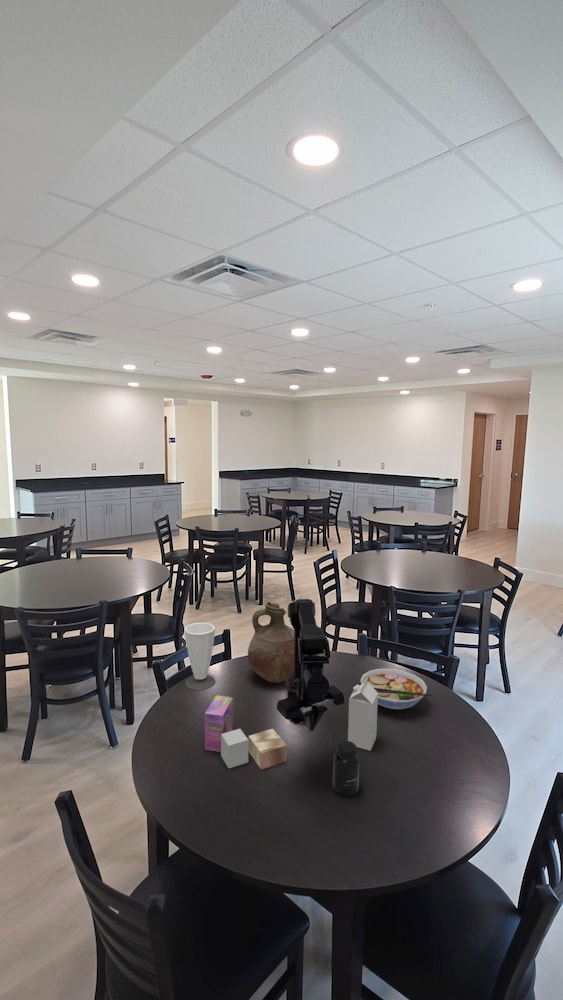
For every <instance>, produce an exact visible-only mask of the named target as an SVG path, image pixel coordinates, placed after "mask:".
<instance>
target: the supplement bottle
mask: <svg viewBox="0 0 563 1000" xmlns="http://www.w3.org/2000/svg"><path fill="white" fill-rule="evenodd" d="M332 762H333V764H332V765H333V766H332V789H333V790H334V791H335V793H337V794H338V795H340V796H342V797H351V796H354V795H355V794H356V793H357V792H358V791H359V780H360V779H359V778H360V777H359V776H360V757H359V756H358V754H357V747H356V745H355V744H354V743H352V742H351V741H348V740H342V741H340V742H338V744H337V751H336V752H335V753H334V756H333V761H332Z"/></svg>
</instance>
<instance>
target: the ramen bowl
mask: <svg viewBox="0 0 563 1000" xmlns="http://www.w3.org/2000/svg"><path fill="white" fill-rule="evenodd" d="M367 678H368V679H367ZM366 679H367V682H368V683H369V684H370V685H371V686H372V687H373V688H374V689H375V690H376V691H377V692H378V705H379V706H381V707H384V708H387V709H392V710H405V709H408V708H412V707H414V705H416V704H417V703H419V702H420V701H421V700H422V699H423V698H424V697H431V694H429V693H427V688H428V686H427V685H426V683H425V681H424V680H423V679H421V678H420V677H419V676H417V675H415V674H414V673H411V672H408V671H406V670H401V669H397V668H375V669H371V670H368V671H366V673H364V674H362V676H361V678H360V680H359V681H360V683H361V685H362V684H363V683H364V682H365V680H366Z"/></svg>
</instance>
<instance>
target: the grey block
mask: <svg viewBox="0 0 563 1000" xmlns="http://www.w3.org/2000/svg"><path fill="white" fill-rule="evenodd" d="M220 756H221V758H222V760H223V762H224V763H225V765H226V767H227V768H228V769H231V768H236V767H238V766H242V765H244V764H248V763H249V751H248V737H247V736H246V734H245V733H244V731H243V730H242V729H241V728H238V729H233V731H230V732H226V733H223V734H221V752H220Z"/></svg>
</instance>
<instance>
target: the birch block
mask: <svg viewBox="0 0 563 1000" xmlns="http://www.w3.org/2000/svg"><path fill="white" fill-rule="evenodd" d="M247 738H248V754H250V755H251V757H252V758H253V760H254V761H255V763H256V765H257V766H258V767H259V769H260V770H265V769H267V768H271V767H274V766H276V765H280V764H283V763H286V762H287V755H288V754H287V751H288V749H287V748H288V747H287V746H288V745H287V744H286V743H285V742H284V741H283V739H282V737H280V736H279V734H278V733H277V732H276V730H275V729H274V728H270V729H266V730H263V731H260V732H257V733H253V734H251V735H248V737H247Z"/></svg>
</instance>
